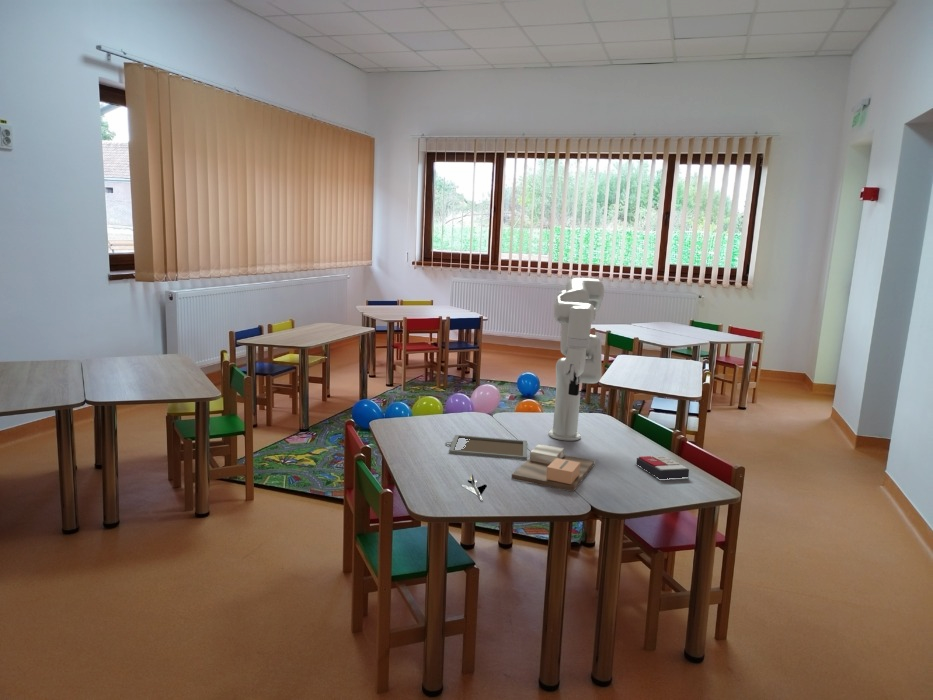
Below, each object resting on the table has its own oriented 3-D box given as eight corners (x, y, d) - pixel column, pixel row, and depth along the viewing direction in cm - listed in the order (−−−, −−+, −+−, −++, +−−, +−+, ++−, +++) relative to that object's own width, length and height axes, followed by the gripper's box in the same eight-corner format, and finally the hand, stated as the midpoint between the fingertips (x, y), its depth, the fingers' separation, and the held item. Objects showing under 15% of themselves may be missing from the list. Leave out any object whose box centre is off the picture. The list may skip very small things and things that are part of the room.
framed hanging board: (527, 457, 218) (441, 449, 221) (526, 461, 218) (441, 454, 221) (527, 440, 237) (448, 434, 240) (526, 444, 237) (448, 438, 240)
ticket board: (538, 454, 225) (539, 442, 224) (594, 464, 217) (595, 452, 216) (511, 478, 200) (512, 465, 199) (573, 491, 192) (574, 477, 191)
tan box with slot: (555, 469, 205) (556, 457, 204) (579, 474, 202) (580, 462, 201) (546, 479, 196) (547, 466, 195) (571, 484, 193) (572, 471, 192)
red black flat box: (664, 454, 222) (689, 467, 208) (663, 466, 223) (688, 479, 209) (636, 455, 219) (660, 468, 205) (635, 467, 220) (659, 481, 206)
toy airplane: (468, 503, 180) (469, 495, 179) (457, 476, 200) (458, 469, 200) (495, 503, 181) (495, 495, 181) (481, 476, 201) (481, 469, 201)
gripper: (572, 337, 221) (568, 388, 225) (561, 344, 208) (556, 398, 212) (594, 340, 218) (589, 391, 222) (583, 347, 205) (578, 401, 209)
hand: (573, 394), depth 217 cm, fingers closed
